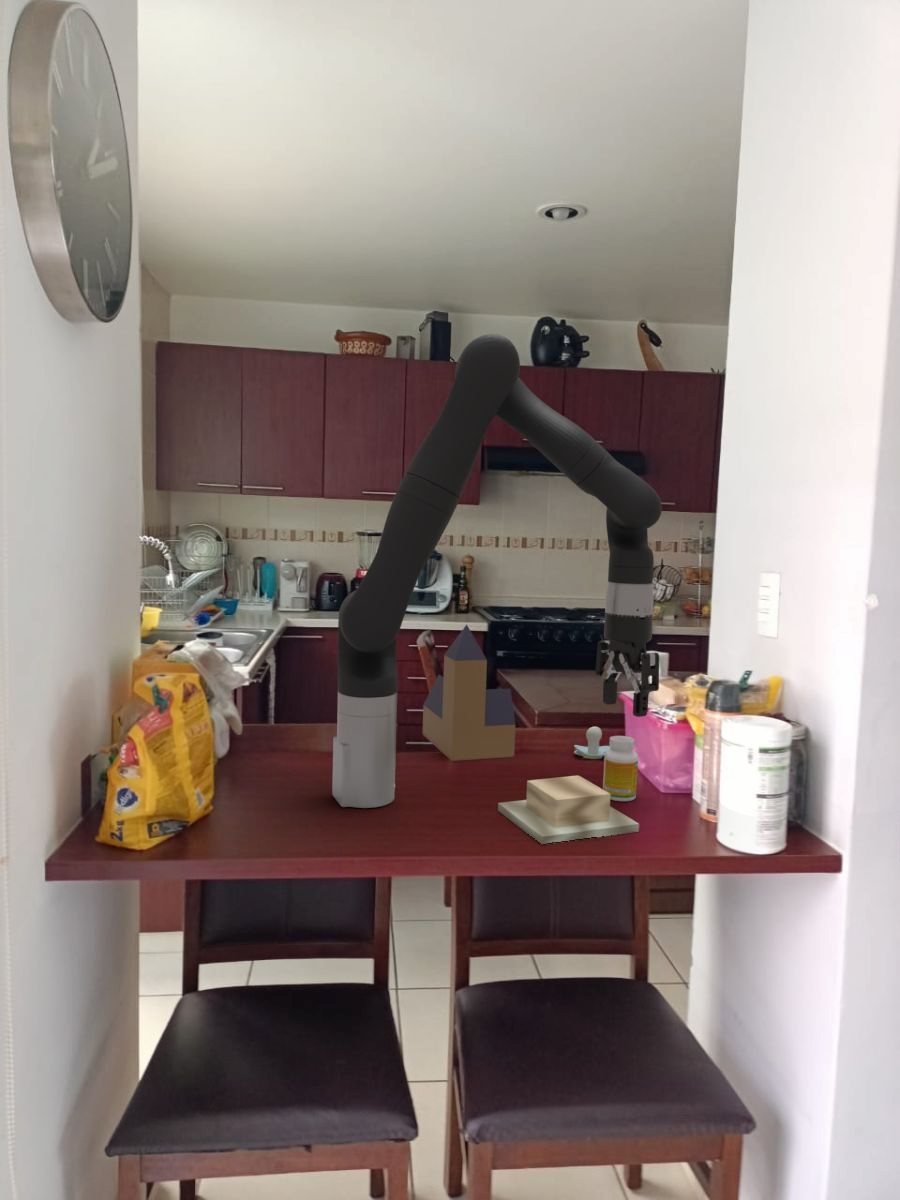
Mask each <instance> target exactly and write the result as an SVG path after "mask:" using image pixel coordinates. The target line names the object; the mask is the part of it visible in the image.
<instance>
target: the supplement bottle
mask: <svg viewBox="0 0 900 1200" xmlns="http://www.w3.org/2000/svg"><path fill="white" fill-rule="evenodd" d="M608 744H609V745H608V746H610V747H611V749H609V750H607V751H606V753H605V756H603V757H604V758H603V761H604V762H603V779H602V789H603V790H605V791H606V792H608V793H610V794H611V795H610V801H615V802H631V801H634V800H635V799H636V797H637V781H638V767H639V766H638V765H639V756H638V754H637V752H636V751H634V749H635V739H634V738H633V737H630V736H626V735H614V736H613V735H612V736H610V737H609V743H608Z"/></svg>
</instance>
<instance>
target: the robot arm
mask: <svg viewBox="0 0 900 1200" xmlns="http://www.w3.org/2000/svg"><path fill="white" fill-rule="evenodd" d="M517 350H518V349H517V348H516V346H515V345H514V344H513V341H511V340H510V339H508V337H506V336H503V335H501V334H497V333H496V334H495V333H490V334H489V333H488V334H484V335H481V336H479V337H476V338H475V339H473V340H472V341H470V342H469V343H468V344H467V345H466V346H465V347H464V349H463V350H462V352H461V354H460V355H459V358H458V360H457V361H456V365H455V369H454V375H455V377H454V380H453V383H452V386H451V388H450V390H449V392H448V396H447V399H446V401H445V403H444V405H443V408H442V410H441V412H440V414H439V416H438V418H437V419H436V421H435V422H434V424H433V425H432V427H431V429H430V430H429V432H428V433H427V434H426V436H425V438H424V439H423V440H422V443H421V444H420V446H419V447H418V449H417V451H416V452H415V454H414V455H413V458H412V459H411V461H410V463H409V465H408V466H407V469H406V471H405V474H404V475H403V478H402V479H401V481H400V483H399V485H398V488H397V490H396V493H395V495H394V496H393V497H394V498H393V499H392V502H391V504H390V506H389V510H388V513H387V515H386V516H387V517H386V519H385V523H384V526H383V529H382V532H381V538H380V541H379V543H378V547H377V550H376V554H375V556H374V558H373V560H372V561H371V564H370V565H369V568H368V569H367V571H366V573H365V574H364V577H363V578H362V580H361V581H360V583H359V585H358V586H357V588H356V590H353V591H352V592H350V593H349V594H348V595H347V596H346V597H345V598H344V599H343V601H342V602H341V605H340V607H339V612H338V620H337V621H338V622H337V623H338V624H337V627H338V629H337V632H338V633H337V715H336V716H337V719H336V720H337V721H336V722H337V723H336V724H337V725H336V727H337V728H336V729H337V730H336V736H333V739H332V740H333V741H332V744H333V746H332V783H331V784H332V786H331V787H332V788H331V789H332V793H331V794H332V796H333V798H334V799H335V800H336V802H337V803H338V804H339V805H340V807H341V808H347V807H349V808H351V807H352V808H359V809H361V808H362V809H368V808H369V809H371V808H372V809H373V808H378V807H384V806H387V805H389V804H391V803H393V802H394V800H395V788H396V754H397V753H396V750H397V749H396V745H397V744H396V743H397V714H398V713H397V712H398V711H397V710H398V681H399V680H398V668H397V666H398V664H397V639H398V638H397V636H398V635H399V633H400V630H401V627H402V624H403V621H404V618H405V615H406V612H407V609H408V606H409V603H410V600H411V598H412V595H413V592H414V590H415V587H416V585H417V582H418V580H419V577H420V575H421V573H422V571H423V570H424V568H425V566H426V564H427V562H428V561H429V560H430V558H431V556H432V554H433V553H434V551H435V549H436V547H437V546H438V544H439V541H440V539H441V538H442V536H443V534H444V532H445V530H446V528H447V527H448V525H449V523H450V521H451V519H452V518H453V514H454V513H455V510H456V509H457V506H458V505H459V502H460V500H461V498H462V495H463V493H464V490H465V488H466V485H467V484H468V481H469V479H470V476H471V473H472V470H473V468H474V466H475V463H476V460H477V458H478V454H479V451H480V449H481V446H482V442H483V441H484V438H485V436H486V433H487V431H488V429H489V427H490V425H491V424H492V422H493V420H494V418H495V417H497V418H499V420H501V421H502V422H504V423H505V424H507V425H508V426H509V427H510V428H511V429H513V430H514V431H515V432H517V433H518V434H520V436H522V437H523V438H524V439H525V440H526V441H528V442H529V443H530V444H531V445H532V446H533V447H534V448H535V449H537V450H538V451H539V452H540V453H541V454H542V455H543V456H544V457H545V458H546V459H548V461H549V462H551V464H552V465H554V466H555V467H556V468H557V469H558V470H559V471H560V472H561V473H562V474H564V475H565V477H567V479H569V480H570V481H571V483H573V484H574V485H576V487H578V488H579V489H580V490H581V491H583V492H584V493H586V495H587V494H588V495H590V496H592V497H594V498H596V499H597V500H598V501H600V502H601V503H602V504H603V505H604V506H605V507H606V513H605V523H606V532H607V543H608V548H609V559H608V570H607V571H608V572H607V573H608V574H607V587H606V592H605V604H604V605H605V606H604V608H605V610H604V628H603V629H604V630H603V636H604V639H606V640H599V641H598V642H597V651H596V662H595V675H596V676H599V677H600V679H601V682H603V686H602V687H603V688H602V690H603V691H602V702H603V704H604V705H615V704H616V703H617V700H618V699H617V698H618V697H617V696H618V678H619V677H620V676H621V674H623V675H624V676H626V678H627V680H628V681H629V682H631V684H632V685H631V686H632V688H633V690H634V693H633V701H632V702H633V704H632V716H634V717H636V718H641V717H646V716H647V714H648V711H649V710H648V709H649V695H650V693H651V692H657V691H659V688H660V654H659V653H658V652H647V648H646V647H647V646H646V644H647V643H649V642H650V641H651V640H652V637H653V621H654V617H653V616H654V600H655V599H654V598H655V597H654V587H653V586H654V584H653V582H654V564H655V561H654V560H655V559H654V552H653V550H652V549H651V548H650V546H649V539H648V537H649V536H648V533H649V532H648V529H649V528H651V527H654V525H656V523H657V522H658V521H659V520H660V517H661V516H662V511H663V505H662V500H661V498H660V496H659V494H658V493H657V492H656V490H655V489H654V488H653V487H652V486H651V485H650V484H649V483H648V482H646V481H645V480H644V479H643V478H642V477H640V476H638V475H637V474H636V473H634V472H633V471H632V470H631V469H629V468H628V467H626V466H625V465H623V464H621V463H620V462H618V461H617V460H616V458H614V457H613V456H612V455H611V454H610V453H609V452H608V451H607V450H606V449H605V448H604V447H603V446H602V445H601V444H600V443H599V442H598V441H596V440H595V438H594V437H592V436H591V435H590V434H589V433H588V432H586V431H585V430H584V429H583V428H581V427H580V426H579V425H577V424H576V423H575V422H573V421H572V420H570V419H568V418H567V417H565V416H564V415H562V414H561V413H560V412H557V411H556V410H554V409H553V408H551V407H550V406H549V405H547V404H546V403H545V402H544V401H542V400H541V399H540V398H539V397H538V396H537V395H536V394H534V393H533V392H532V391H531V390H530V388H529V387H528V386H527V385H526V384H525V383H524V382H523V380H522V379H521V378H520V377H519V376H520V372H521V371H520V369H521V365H520V364H521V361H520V356H519V352H518V351H517ZM604 662H605V664H604ZM603 664H604V666H603ZM649 677H651V682H650V680H649ZM640 682H641V683H640Z"/></svg>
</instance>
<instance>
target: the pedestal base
mask: <svg viewBox="0 0 900 1200" xmlns="http://www.w3.org/2000/svg"><path fill="white" fill-rule="evenodd" d="M610 795H611V794H610V793H608V792H606V791H605V790H603V788H601V787H599V786H598V785H597V784H594V783H592V782H591V781H589V780H588V779H585V778H584V777H582V776H580V775H568V776H560V777H551V778H541V779H540V778H539V779H538V778H537V779H530V780H527V781H526V799H523V800H514V801H504V802H498V804H497V805H498V807H497V811H498V812H499V813H500V814H502V815H503V816H504V817H505V818H506V819H508V820H510V821H511V822H512V823H513V824H514V825H516V827H518V828H519V829H521V831H523V832H525V833H526V834H527V835H528V834H529V835H528V836H530V837H531V836H532V837H533V838H535V839H534V840H535V841H536V840H537V841H538V842H540V843H541V844H546V843H552V842H561V841H568V842H570V841H569V840H575V839H583V838H590V839H592V838H591V837H597V838H603V837H602V836H604V837H610V836H611V835H612V836H618V834H619V835H625V834H633V833H639V830H640V823H639V822H637V821H635V820H634V819H632V818H630V817H629V816H627V815H626V814H624V813H622V812H621V811H618V810H617V809H615V808H614V807H612V806H611V799H610ZM612 836H611V837H612ZM532 837H531V838H532ZM533 838H532V839H533ZM583 840H584V839H583ZM537 841H536V842H537ZM575 841H576V840H575ZM538 842H537V843H538ZM540 843H539V844H540ZM561 843H562V842H561ZM541 844H540V845H541ZM546 845H547V844H546Z"/></svg>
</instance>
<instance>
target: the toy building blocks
mask: <svg viewBox="0 0 900 1200" xmlns="http://www.w3.org/2000/svg"><path fill="white" fill-rule="evenodd" d="M443 656H444V657H443V658H444V659H443V676H442V675H440V674H438V675H437V677H436V679H435V681H434V683H433V685H432V687H431V690H430V691H429V693H428V695H427V697H426V699H425V701H424V702H423V706H422V735H423V737H425V738H426V739H427V740H428V741H429V742H430V743H431V744H432V745H433V746H435V748H437V749H438V750H439V752H441V753H442V754H443V755H445V756H446V758H448V759H449V760H450V761H452V762H457V761H468V760H469V761H471V760H484V759H498V758H500V759H501V758H514V757H515V748H516V747H515V744H516V743H515V742H516V726H517V725H516V719H515V718H516V717H515V712H514V705H513V699H512V697H513V696H512V690H511V688H494V689H493V688H492V689H491V688H490V689H489V688H487V670H488V669H487V668H488V660H487V657H486V656H485V654H484V652H483V651H482V649H481V647H480V645H479V643H478V642H477V639H476V638H475V636H474V635H473V633H472V632H471V629H470V628H469V626H468V624H465V626H464V627H463V628H462V630H461V631H460V632H459V634H458V635H457V637H456V638H455V640H454V641H453V643H452V644H451V645H450V647H449V648H448V649H447V650H446V653H445V654H444V655H443ZM513 756H514V757H513Z"/></svg>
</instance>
